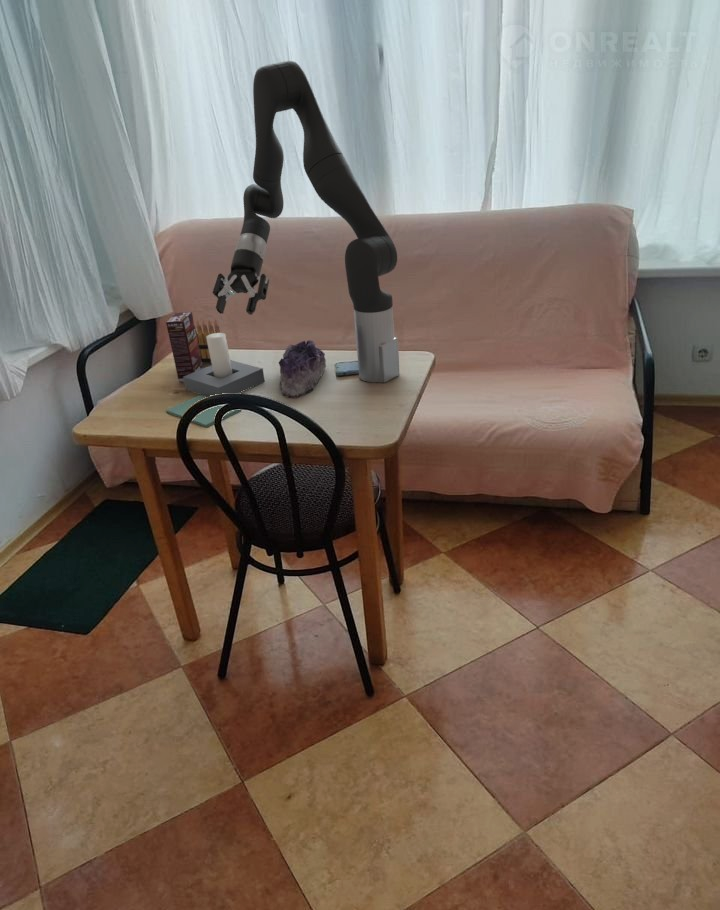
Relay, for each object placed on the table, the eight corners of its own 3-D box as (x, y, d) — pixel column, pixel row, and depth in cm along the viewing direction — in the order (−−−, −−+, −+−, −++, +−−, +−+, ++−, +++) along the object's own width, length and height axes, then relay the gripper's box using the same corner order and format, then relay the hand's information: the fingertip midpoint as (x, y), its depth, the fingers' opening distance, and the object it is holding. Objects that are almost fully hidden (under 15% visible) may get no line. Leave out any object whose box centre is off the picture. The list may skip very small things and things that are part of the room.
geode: (322, 398, 147) (312, 358, 142) (275, 405, 149) (263, 367, 144) (332, 363, 165) (323, 327, 160) (290, 371, 167) (280, 335, 162)
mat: (241, 410, 144) (240, 408, 144) (206, 427, 138) (205, 424, 137) (201, 397, 153) (200, 394, 153) (166, 412, 146) (165, 410, 146)
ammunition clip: (190, 362, 176) (181, 320, 170) (193, 360, 178) (184, 318, 172) (225, 363, 173) (217, 320, 168) (228, 360, 175) (220, 318, 169)
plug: (238, 384, 159) (229, 334, 152) (224, 390, 156) (214, 340, 149) (226, 380, 161) (217, 331, 155) (212, 387, 158) (202, 337, 152)
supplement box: (196, 381, 163) (183, 321, 155) (178, 382, 163) (164, 322, 155) (204, 369, 170) (192, 311, 163) (187, 370, 171) (174, 312, 163)
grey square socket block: (264, 381, 159) (262, 368, 157) (221, 401, 150) (218, 387, 148) (229, 371, 167) (226, 359, 165) (185, 389, 158) (182, 376, 156)
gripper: (218, 247, 162) (202, 304, 158) (267, 247, 157) (252, 306, 153) (232, 264, 168) (217, 319, 165) (279, 264, 164) (265, 320, 160)
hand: (234, 312), depth 159 cm, fingers open, 8 cm apart
